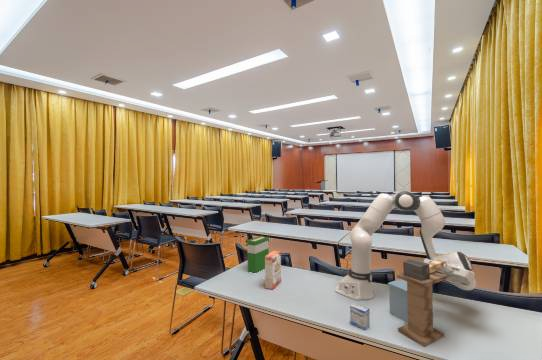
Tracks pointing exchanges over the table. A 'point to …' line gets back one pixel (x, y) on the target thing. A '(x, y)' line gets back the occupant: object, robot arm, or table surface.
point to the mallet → (421, 268)
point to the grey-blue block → (398, 299)
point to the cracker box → (272, 269)
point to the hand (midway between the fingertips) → (438, 263)
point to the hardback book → (257, 253)
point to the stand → (421, 309)
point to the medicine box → (359, 316)
